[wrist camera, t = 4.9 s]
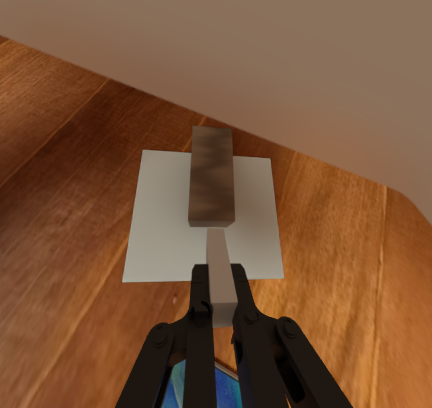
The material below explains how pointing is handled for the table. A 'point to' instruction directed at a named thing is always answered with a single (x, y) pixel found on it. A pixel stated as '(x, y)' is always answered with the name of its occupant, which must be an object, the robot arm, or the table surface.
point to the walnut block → (211, 178)
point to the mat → (196, 236)
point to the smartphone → (225, 388)
